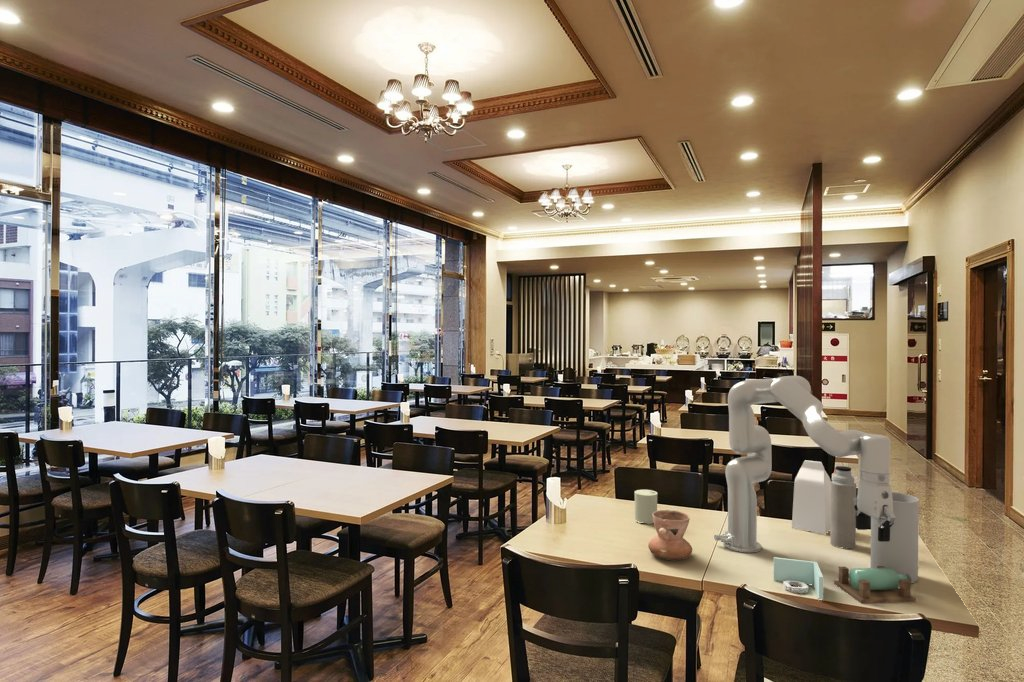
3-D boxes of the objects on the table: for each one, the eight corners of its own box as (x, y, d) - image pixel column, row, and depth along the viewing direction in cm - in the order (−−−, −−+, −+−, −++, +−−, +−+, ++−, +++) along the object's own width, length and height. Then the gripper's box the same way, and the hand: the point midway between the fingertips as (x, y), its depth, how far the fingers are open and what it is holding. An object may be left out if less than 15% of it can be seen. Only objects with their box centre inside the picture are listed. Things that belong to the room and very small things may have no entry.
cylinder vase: (874, 581, 185) (875, 499, 184) (867, 566, 196) (867, 489, 196) (922, 587, 180) (923, 504, 180) (911, 571, 192) (912, 493, 192)
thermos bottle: (851, 541, 219) (851, 465, 219) (859, 549, 212) (859, 470, 211) (827, 540, 221) (828, 464, 221) (834, 547, 213) (835, 469, 213)
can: (659, 524, 239) (660, 494, 239) (636, 524, 239) (636, 494, 239) (654, 517, 248) (654, 488, 248) (632, 517, 249) (632, 488, 248)
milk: (791, 528, 235) (792, 461, 235) (800, 521, 244) (800, 457, 243) (825, 534, 227) (826, 466, 227) (833, 527, 236) (833, 461, 235)
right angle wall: (773, 581, 186) (773, 557, 186) (816, 586, 182) (816, 562, 182) (776, 597, 175) (777, 571, 175) (823, 603, 171) (823, 577, 171)
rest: (861, 603, 170) (861, 583, 170) (833, 583, 183) (834, 565, 183) (915, 601, 171) (916, 582, 170) (884, 582, 184) (885, 564, 183)
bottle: (861, 594, 173) (862, 574, 173) (848, 584, 179) (849, 564, 179) (914, 593, 174) (916, 573, 174) (900, 582, 180) (901, 563, 180)
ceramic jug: (682, 568, 194) (683, 524, 194) (639, 558, 202) (640, 516, 202) (700, 553, 209) (701, 512, 209) (659, 544, 217) (660, 505, 217)
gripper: (907, 485, 168) (905, 546, 168) (867, 469, 185) (866, 525, 186) (881, 485, 167) (879, 546, 168) (844, 470, 185) (842, 525, 185)
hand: (872, 535), depth 177 cm, fingers open, 9 cm apart
